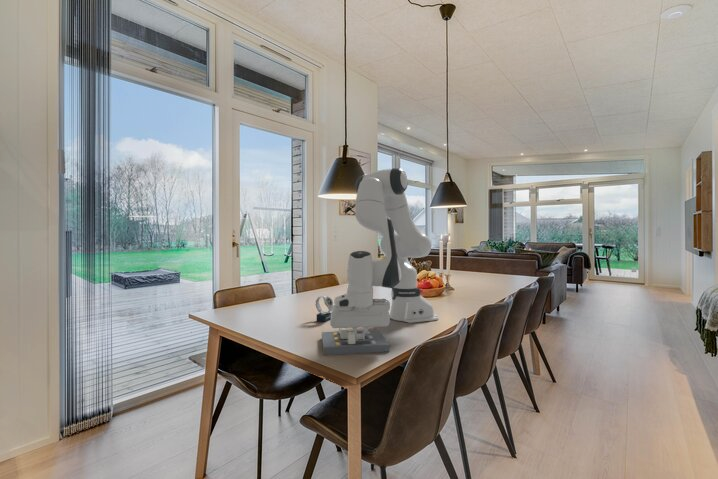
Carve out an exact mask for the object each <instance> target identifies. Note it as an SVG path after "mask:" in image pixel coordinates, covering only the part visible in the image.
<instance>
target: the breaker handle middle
mask: <svg viewBox="0 0 718 479" xmlns="http://www.w3.org/2000/svg"><path fill="white" fill-rule="evenodd" d="M348 331H349V330H348V328H340V338H341V339H348Z"/></svg>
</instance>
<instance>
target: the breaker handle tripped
mask: <svg viewBox="0 0 718 479" xmlns="http://www.w3.org/2000/svg"><path fill="white" fill-rule="evenodd" d="M348 344H355V333H354V332H348Z"/></svg>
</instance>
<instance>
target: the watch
mask: <svg viewBox="0 0 718 479" xmlns="http://www.w3.org/2000/svg"><path fill="white" fill-rule="evenodd" d="M321 298H322V299H323V302H324V305H325V306H326V307H327V310H328V311H323V310H322V308H321V305H320V299H321ZM333 301H334V300H333V299H332V298H331V296H330V297H329V296H327V295H321V296H318V297H317V298H316V299H315V307H316V310H317V312H318V313H317V314H316V322H319V323H324V324H325V323H327V322H328V321H330V318H331V311H332V307H333V306H334V302H333Z"/></svg>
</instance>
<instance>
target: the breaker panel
mask: <svg viewBox="0 0 718 479" xmlns="http://www.w3.org/2000/svg"><path fill="white" fill-rule="evenodd" d="M363 330H364V329H362V330H356V332H357V334H362V332H363ZM348 332H354V331H353V330H348ZM321 342H322V343H321V344H322V351H323V356H331V355H333V356H334V355H353V354H370V353H371V352H376V353H385V352H384V351H389V352H390V344H389V342H388V341H387V339H386V338H385V336H384V335H383V333H382V331H381V330H380V329H368V330H367V332H366V334H365V335H364V340H356V335H355V344H348V339H341V338H340V334H339V330H338V331H322V332H321ZM371 354H372V353H371Z"/></svg>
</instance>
